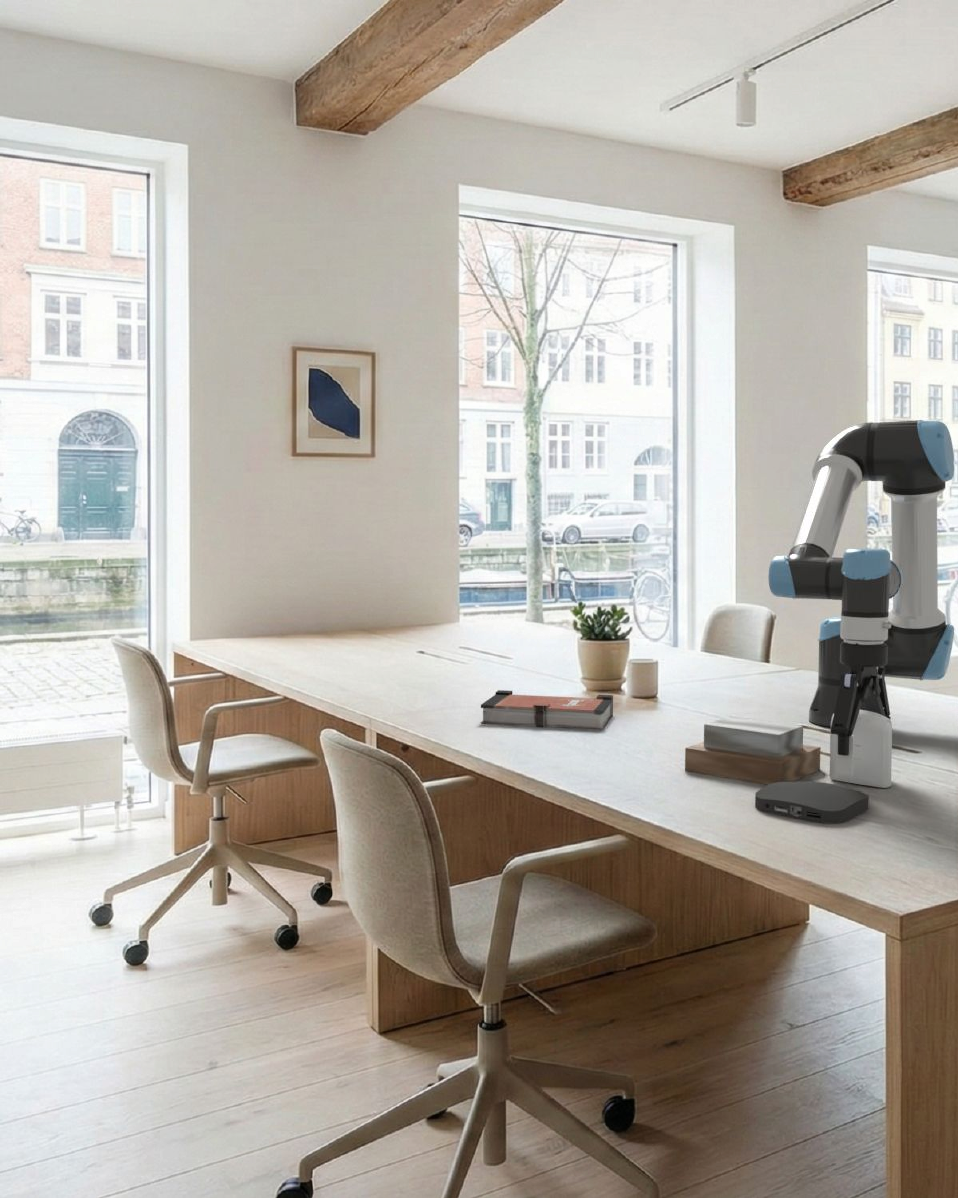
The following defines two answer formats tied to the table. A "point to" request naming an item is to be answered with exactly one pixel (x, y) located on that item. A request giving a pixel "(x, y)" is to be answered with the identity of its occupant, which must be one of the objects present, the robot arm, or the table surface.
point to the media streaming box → (812, 801)
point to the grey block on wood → (753, 751)
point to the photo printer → (867, 751)
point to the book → (548, 711)
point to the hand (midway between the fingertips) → (860, 767)
